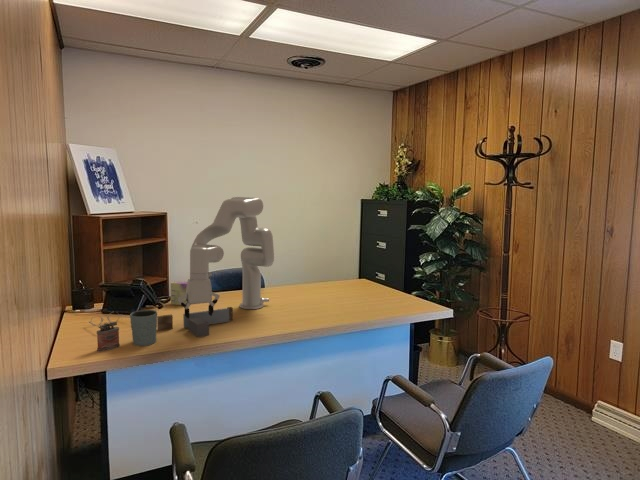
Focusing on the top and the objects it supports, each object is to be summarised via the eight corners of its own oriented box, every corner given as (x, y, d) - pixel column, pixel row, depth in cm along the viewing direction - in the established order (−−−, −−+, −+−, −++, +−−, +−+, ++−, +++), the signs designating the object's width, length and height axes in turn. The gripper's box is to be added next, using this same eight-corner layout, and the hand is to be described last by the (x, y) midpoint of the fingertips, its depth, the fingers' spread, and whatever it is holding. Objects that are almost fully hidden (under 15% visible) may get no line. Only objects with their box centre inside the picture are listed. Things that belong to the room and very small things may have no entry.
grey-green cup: (145, 348, 164) (144, 317, 163) (124, 344, 168) (123, 314, 167) (163, 339, 174) (162, 311, 173) (143, 336, 177) (142, 308, 176)
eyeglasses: (121, 319, 200) (121, 309, 199) (143, 328, 188) (142, 317, 188) (85, 328, 187) (85, 317, 187) (106, 337, 176) (106, 326, 175)
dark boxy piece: (199, 329, 189) (199, 317, 188) (208, 335, 181) (208, 322, 180) (188, 331, 186) (188, 319, 185) (197, 337, 178) (197, 325, 177)
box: (193, 303, 230) (193, 281, 229) (189, 305, 225) (189, 283, 223) (175, 302, 231) (174, 280, 230) (170, 304, 226) (170, 282, 224)
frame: (231, 319, 204) (231, 306, 203) (232, 320, 202) (232, 307, 201) (157, 329, 186) (157, 316, 186) (158, 330, 185) (158, 317, 184)
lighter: (99, 352, 159) (98, 326, 158) (95, 349, 162) (94, 324, 160) (121, 346, 165) (120, 321, 164) (117, 344, 167) (116, 319, 166)
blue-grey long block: (227, 319, 201) (227, 307, 200) (229, 321, 199) (229, 309, 198) (182, 326, 190) (182, 313, 190) (184, 327, 188) (184, 314, 187)
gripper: (216, 273, 186) (216, 311, 188) (175, 276, 177) (175, 316, 179) (222, 276, 180) (221, 316, 181) (180, 279, 171) (180, 321, 172)
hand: (199, 316), depth 180 cm, fingers open, 9 cm apart
